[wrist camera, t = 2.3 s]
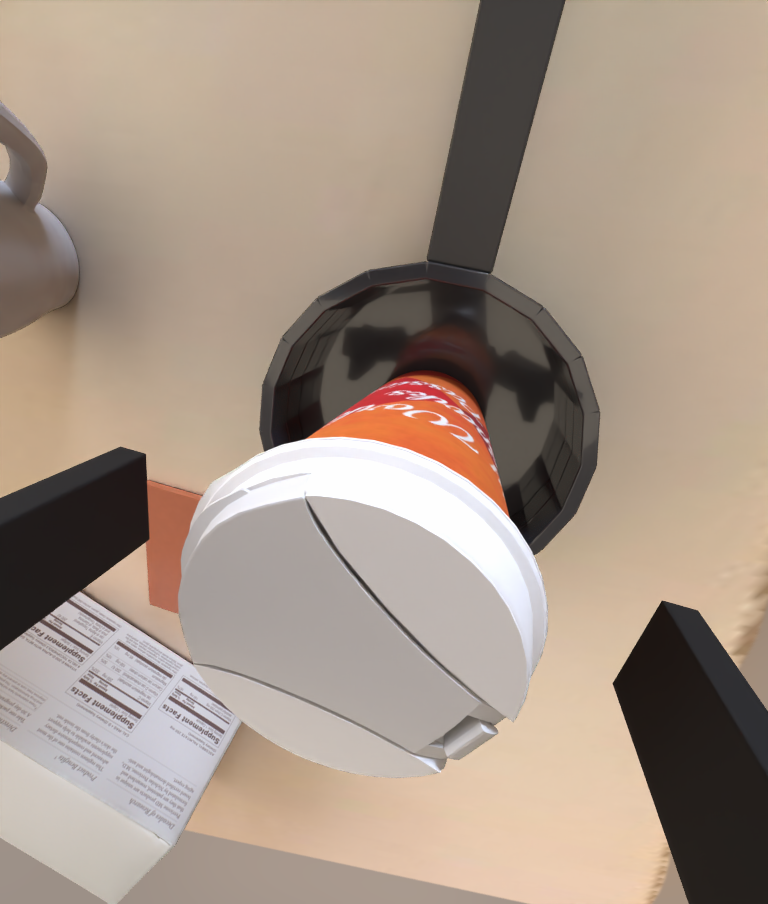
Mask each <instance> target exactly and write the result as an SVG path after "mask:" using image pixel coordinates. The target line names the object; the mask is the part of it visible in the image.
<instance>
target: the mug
mask: <svg viewBox="0 0 768 904" xmlns="http://www.w3.org/2000/svg"><path fill="white" fill-rule="evenodd" d="M0 143H2V144H3V145H5V147H6V149H7V152H8V155H9V158H10V169H9V173H8V175H7V177H6V179H5V181H1V180H0V338H2V337H4V336H7V335H9V334H12V333H14V332H16V331H18V330H20V329H22V328H24V327H26V326H28V325H29V324H31V323H33V322H35V321H36V320H38V319H39V318H41V317H42V316H43V315H45V314H46V313H48V312H50V311H52V310H54V309H57V308H60V307H62V306H64V305H66V304H67V303H68V302H69V301H70V300H71V299H72V298H73V296H74V294H75V292H76V290H77V286H78V282H79V264H78V258H77V254H76V250H75V248H74V245H73V242H72V240H71V238H70V236H69V234H68V232H67V231H66V229H65V228H64V226H63V225H62V223H61V222H60V221H59V220H58V218H57V217H56V216H55V215H54V214H53V213H52V212H51V211H49V210H48V209H47V208H46V207H44V206H43V205H41V204H39V203H38V202H39V200H40V198H41V196H42V193H43V189H44V184H45V179H46V173H47V161H46V157H45V154H44V152H43V150H42V148H41V147H40V145H39V144H38V142H37V141H36V139H35V138H34V137H33V135H32V134H31V133H30V131H29V130H28V129H27V128H26V127H25V125H24V124H23V123H22V122H21V121H20V120H19V119H18V118H17V117H16V116H15V115H14V114H13V113H12V112H11V111H10V110H9V109H8V108H7V107H6V106H5V105H4V104H3V103H2V102H1V101H0Z"/></svg>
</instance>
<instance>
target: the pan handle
mask: <svg viewBox="0 0 768 904" xmlns="http://www.w3.org/2000/svg"><path fill="white" fill-rule="evenodd" d="M564 4H565V0H480V4H479V9H478V14H477V19H476V23H475V28H474V33H473V38H472V43H471V48H470V52H469V57H468V62H467V67H466V72H465V77H464V81H463V86H462V91H461V96H460V101H459V105H458V110H457V115H456V120H455V125H454V130H453V134H452V139H451V144H450V149H449V154H448V158H447V163H446V168H445V173H444V178H443V183H442V187H441V192H440V197H439V202H438V207H437V211H436V216H435V221H434V226H433V231H432V236H431V240H430V245H429V250H428V255H427V261H430V262H435V263H440V264H445V265H450V266H455V267H460V268H465V269H470V270H475V271H480V272H485V273H488V274H491V272H492V271H493V267H494V263H495V260H496V256H497V252H498V249H499V245H500V241H501V237H502V234H503V230H504V226H505V223H506V219H507V215H508V211H509V208H510V204H511V200H512V197H513V193H514V189H515V186H516V182H517V178H518V174H519V171H520V167H521V163H522V160H523V156H524V152H525V148H526V145H527V141H528V137H529V134H530V130H531V126H532V123H533V119H534V115H535V111H536V108H537V104H538V100H539V97H540V93H541V89H542V85H543V82H544V78H545V74H546V71H547V67H548V63H549V59H550V56H551V52H552V48H553V45H554V41H555V37H556V34H557V30H558V26H559V22H560V19H561V15H562V11H563V8H564Z"/></svg>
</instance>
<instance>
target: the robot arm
mask: <svg viewBox="0 0 768 904" xmlns="http://www.w3.org/2000/svg"><path fill="white" fill-rule="evenodd" d="M149 539H150V535H149V513H148V491H147V470H146V454H144V453H141V452H137V451H134V450H130V449H126V448H123V447H119V448H116V449H114V450H112V451H109V452H107V453H105V454H102V455H100V456H98V457H95V458H93V459H91V460H88V461H86V462H84V463H81V464H79V465H77V466H74V467H72V468H70V469H67V470H65V471H63V472H60V473H58V474H56V475H53V476H51V477H49V478H46V479H44V480H42V481H39V482H37V483H35V484H32V485H30V486H28V487H25V488H23V489H21V490H18V491H16V492H14V493H11V494H9V495H7V496H4V497H2V498H0V651H1V650H2V649H3V648H5V647H6V646H7V645H9V644H10V643H11V642H13V641H14V640H15V639H17V638H18V637H19V636H21V635H22V634H23V633H25V632H26V631H27V630H29V629H30V628H31V627H33V626H34V625H35V624H37V623H38V622H39V621H41V620H42V619H43V618H45V617H46V616H47V615H49V614H50V613H51V612H53V611H54V610H55V609H57V608H58V607H59V606H61V605H62V604H63V603H65V602H66V601H67V600H69V599H70V598H71V597H73V596H74V595H75V594H77V593H78V592H80V591H81V590H82V589H84V588H85V587H86V586H88V585H89V584H90V583H92V582H93V581H94V580H96V579H97V578H98V577H100V576H101V575H102V574H104V573H105V572H106V571H108V570H109V569H110V568H112V567H113V566H114V565H116V564H117V563H118V562H120V561H121V560H122V559H124V558H125V557H126V556H128V555H129V554H130V553H132V552H133V551H134V550H136V549H137V548H138V547H140V546H141V545H142V544H144V543H145V542H146V541H148V540H149ZM613 686H614V689H615V691H616V694H617V697H618V700H619V703H620V706H621V709H622V712H623V715H624V717H625V720H626V723H627V726H628V729H629V732H630V735H631V738H632V741H633V744H634V746H635V749H636V752H637V755H638V758H639V761H640V764H641V767H642V770H643V772H644V775H645V778H646V781H647V784H648V787H649V790H650V793H651V796H652V798H653V801H654V804H655V807H656V810H657V813H658V816H659V819H660V822H661V825H662V827H663V830H664V833H665V836H666V839H667V842H668V845H669V848H670V851H671V853H672V856H673V859H674V862H675V865H676V868H677V871H678V874H679V877H680V879H681V882H682V885H683V888H684V891H685V894H686V897H687V900H688V902H689V904H768V711H767V710H766V708H765V707H764V705H763V704H762V702H761V701H760V699H759V698H758V697H757V695H756V694H755V692H754V691H753V689H752V688H751V687H750V685H749V684H748V682H747V681H746V679H745V678H744V676H743V675H742V674H741V672H740V671H739V669H738V668H737V666H736V665H735V663H734V662H733V661H732V659H731V658H730V656H729V655H728V653H727V652H726V650H725V649H724V648H723V646H722V645H721V643H720V642H719V640H718V639H717V637H716V636H715V635H714V633H713V632H712V630H711V629H710V627H709V626H708V624H707V623H706V622H705V620H704V619H703V617H702V616H701V614H700V613H699V612H698V610H694V609H690V608H687V607H683V606H680V605H676V604H673V603H669V602H666V601H661V603H660V605H659V607H658V608H657V610H656V612H655V613H654V615H653V617H652V618H651V620H650V622H649V623H648V625H647V627H646V628H645V630H644V632H643V633H642V635H641V637H640V639H639V640H638V642H637V644H636V645H635V647H634V649H633V650H632V652H631V654H630V655H629V657H628V659H627V660H626V662H625V664H624V665H623V667H622V669H621V670H620V672H619V674H618V676H617V677H616V679H615V681H614V682H613Z"/></svg>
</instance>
